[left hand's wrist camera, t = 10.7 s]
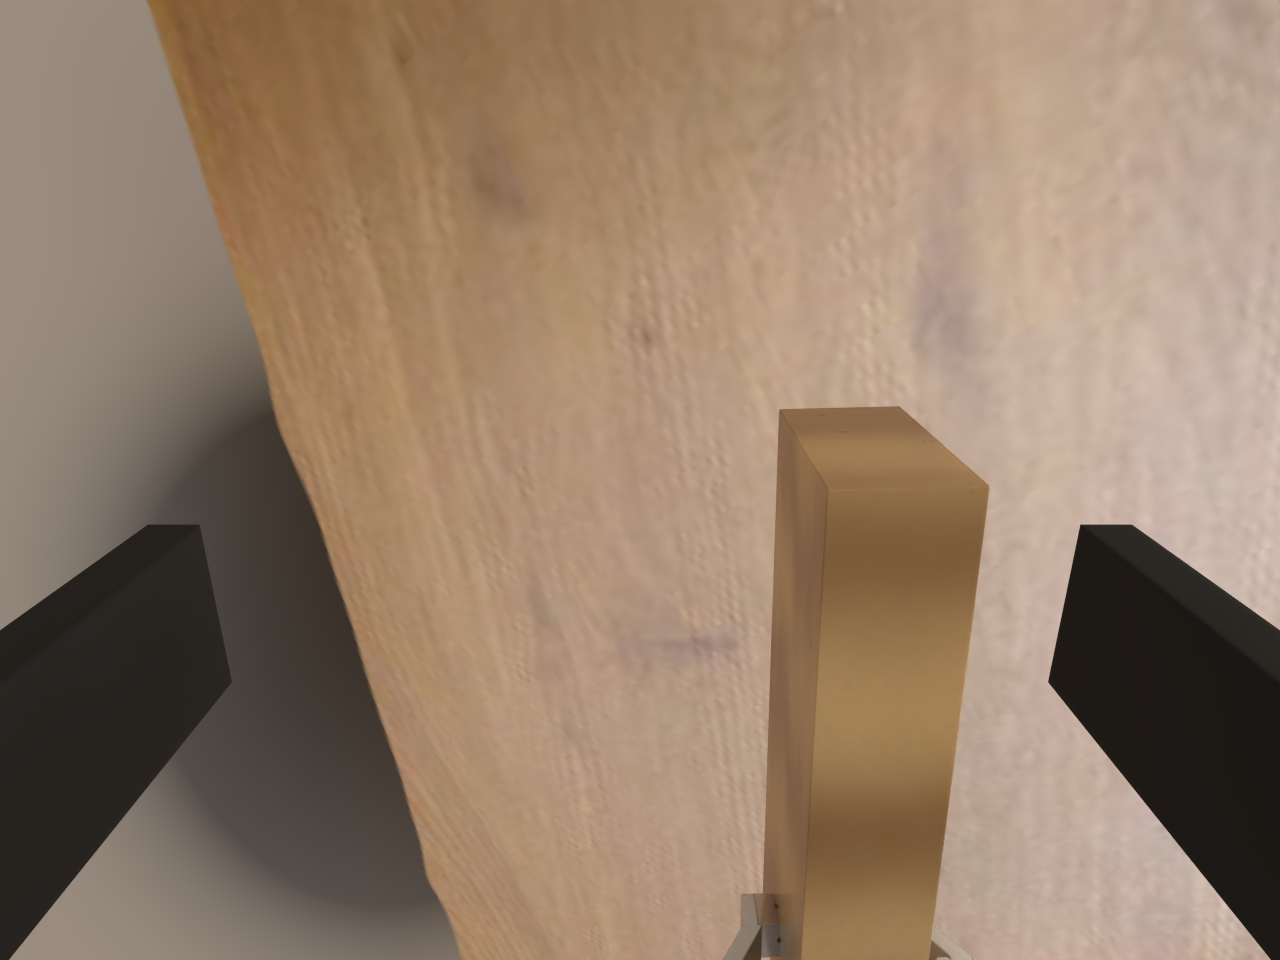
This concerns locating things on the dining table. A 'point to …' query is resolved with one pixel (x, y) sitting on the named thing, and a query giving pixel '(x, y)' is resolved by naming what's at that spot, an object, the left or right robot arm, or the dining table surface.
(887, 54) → the dining table surface
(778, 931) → the right robot arm
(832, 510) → the bar
